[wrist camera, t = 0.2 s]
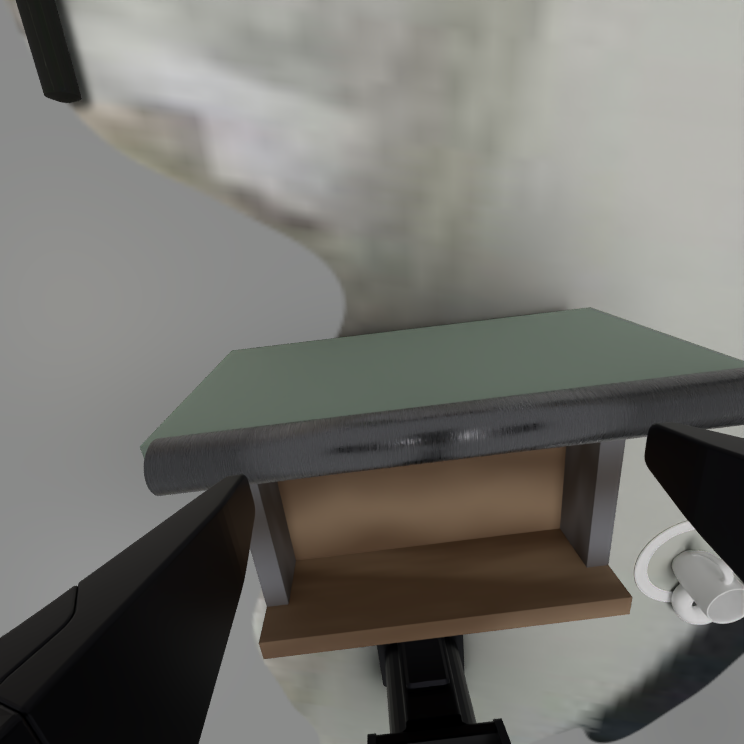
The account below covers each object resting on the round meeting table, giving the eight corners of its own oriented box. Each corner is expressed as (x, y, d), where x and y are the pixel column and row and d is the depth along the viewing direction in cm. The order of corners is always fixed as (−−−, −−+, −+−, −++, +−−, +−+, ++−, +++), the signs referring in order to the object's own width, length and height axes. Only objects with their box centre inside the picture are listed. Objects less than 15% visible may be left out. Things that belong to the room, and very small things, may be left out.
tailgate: (588, 334, 20) (793, 430, 11) (238, 376, 20) (137, 510, 11) (590, 303, 19) (811, 376, 10) (230, 346, 19) (117, 460, 10)
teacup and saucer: (703, 606, 31) (752, 660, 27) (610, 600, 30) (647, 654, 27) (756, 518, 28) (820, 564, 24) (654, 509, 27) (703, 555, 24)
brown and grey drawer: (561, 518, 27) (629, 614, 20) (285, 552, 27) (263, 658, 20) (576, 325, 22) (671, 368, 15) (239, 366, 22) (191, 426, 15)
